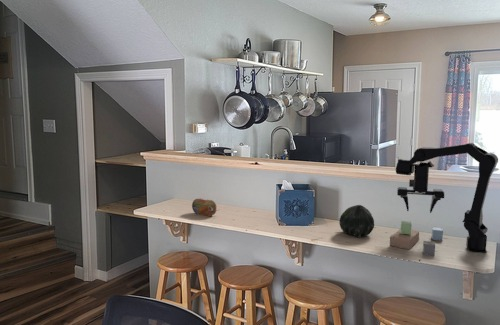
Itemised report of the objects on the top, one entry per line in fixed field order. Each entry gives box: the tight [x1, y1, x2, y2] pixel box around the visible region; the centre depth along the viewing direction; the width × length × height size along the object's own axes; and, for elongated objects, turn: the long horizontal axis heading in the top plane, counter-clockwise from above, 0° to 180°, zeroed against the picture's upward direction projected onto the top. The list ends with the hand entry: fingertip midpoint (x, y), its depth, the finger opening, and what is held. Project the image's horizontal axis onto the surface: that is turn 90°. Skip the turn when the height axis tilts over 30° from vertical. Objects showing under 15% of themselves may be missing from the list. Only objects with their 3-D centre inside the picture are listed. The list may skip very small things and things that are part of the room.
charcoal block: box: [422, 240, 436, 256], centre depth 173 cm, size 4×4×4 cm
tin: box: [191, 198, 217, 217], centre depth 229 cm, size 15×3×8 cm, turn 55°
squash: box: [338, 204, 375, 238], centre depth 196 cm, size 14×15×15 cm
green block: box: [400, 220, 412, 235], centre depth 185 cm, size 4×4×4 cm
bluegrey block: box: [431, 227, 444, 241], centre depth 191 cm, size 4×4×4 cm
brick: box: [389, 228, 420, 250], centre depth 186 cm, size 17×8×5 cm, turn 145°
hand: (419, 211), depth 190 cm, fingers open, 9 cm apart
